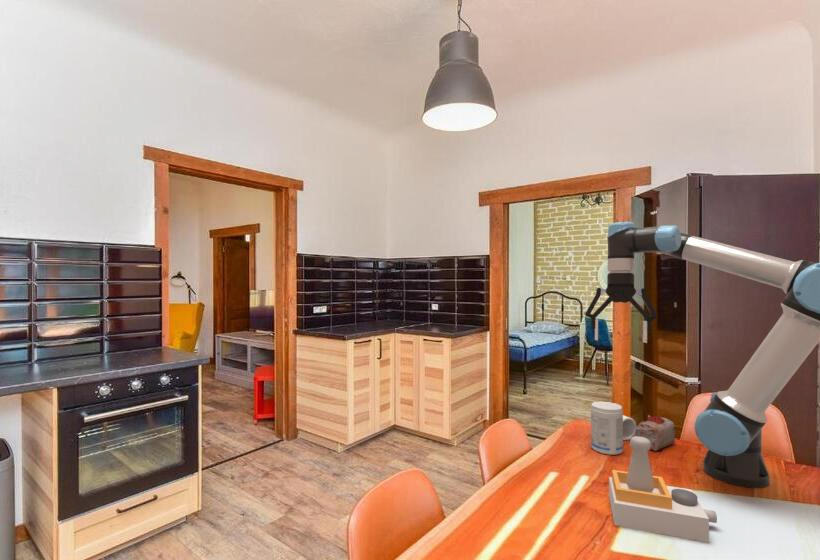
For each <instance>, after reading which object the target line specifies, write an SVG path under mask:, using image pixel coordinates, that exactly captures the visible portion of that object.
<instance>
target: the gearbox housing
mask: <svg viewBox="0 0 820 560" xmlns="http://www.w3.org/2000/svg"><path fill="white" fill-rule="evenodd" d="M627 475H628V471H622V470H616V469H611V476H609V477H608V499H609V502H610V503H609V504H610V509H611V514H612V518H613V523H614V526H617V527H622V528H626V529H627V528H628V529H632V530H638V531H643V532H648V533H655V534H661V535H665V536H670V537H674V538H675V537H676V538H680V539H681V538H682V539H685V540H686V539H687V540H693V541H698V542H703V543H708V544H709V543H710V523H713V524H717V523H718V518H717V512H716V511H715V510H710V509H704V508H703V506H702V505H701V503H700V502H699V500H698V496H697V495H696V493H694V491H693V490H692V489H690V488H685V487H677V486H673V485H671V486H670V485H666V482H665V480H664V478H663V477H662V476H657V475H652V477H653V482H654V490H653V491H652V493H650V492H643V491H637V490H631V489H629V488H628V486H627V482H626V480H627Z"/></svg>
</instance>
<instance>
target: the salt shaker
mask: <svg viewBox="0 0 820 560" xmlns="http://www.w3.org/2000/svg"><path fill="white" fill-rule="evenodd" d="M629 446H630V447H631V448H632V450H631V451H632V452H631V455H630V461H629V465H628V471H627V472H628V475H627V480H626V482H627V486H628V488H629V489H631V490H637V491H643V492H650V493H652V491H653V490H654V482H653V477H652V476H653V473H652V468H651V467H652V466H651V463H650V457H649V451H650V447H651V443H650V441H649V440H648V439H647V438H644V437H639V436H635V435H634V437H632V438H631V439H630V440H629Z"/></svg>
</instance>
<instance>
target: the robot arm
mask: <svg viewBox="0 0 820 560" xmlns="http://www.w3.org/2000/svg"><path fill="white" fill-rule="evenodd" d="M635 225H636V224H635V223H634V222H631V221H617V222H612V223H610V224H609V226H608V228H607V229H608V230H607V272H609V273H607V278H606V279H607V280H606V281H607V283H606V285H607V286H606V288H600V287H596V289H595V295H594V297H593V299H592V301H591V303H590V304H589V306H588V308H587V310H586V312H585V313H584V314H585V317H587V318H589V319H590V328H591V329H592V330H594V341H598V340H599V319H598V316H599V315H600V314H601V313H602V312H603V311H604V310H605V309H606V307H608V306H609V305H610V304H611V303H612V302H613V303H624V304H625V303H630V304H631V305H632V306H633V308H635V309H636V310H637V312H638V313H639V314H640V315H641V316H642V317H643V318H644V320H642V343H644V344H647V343H648V332H651V331H652V321H653V320H654V321H655V320H658V318H659V315H658V314H657V312H656V310H655V308H654V307H653V305H652V302H651V301H650V300H649V298H648V296H647V289H646V288H645V287H644V288H642V287H641V288H635V273H633V272H635V254H637V253H639V254H640V253H658V254H664V255H667V256H669V257H674V258H677V259H682V260H685V261H687V262H692V263H694V264H698V265H702V266H705V267H709V268H711V269H715V270H719V271H723V272H725V273H727V274H732V275H735V276H739V277H741V278H745V279H749V280H752V281H755V282H758V283H761V284H766V285H769V286H772V287H776V288H779V289H781V290H782V291H783V292H784V294H786V296H785V297H784V299H783V300H782V301H781V303H780V306H781V308H782V314H781V316H780V317H779V318H778V320H777V321H776V323H775V324H774V326H773V327H772V329H771V330H770V331H769V332H768V334H767V335H766V337H765V338H764V339H763V341H762V342H761V344H760V345H759V346H758V348H757V349H756V350H755V352H754V353H753V354H752V356H751V357H750V359H749V360H748V362H747V363H746V364H745V365H744V367H743V369H742V370H741V371H740V373H739V374H738V375H737V377H736V378H735V380H734V381H733V382H732V384H731V385H730V386H729V388H728V389H727V390H721V391H716V392H712V393H711V396H710V400H709V401H710V402H709V403H708V405H707V406H706V408H705V409H704V410H703V411H701V412H700V413H699V414H698V416H697V417H696V418H695V422H694V431H695V434H696V437H697V439H698V440H699V442H700V443H701V445H703V446H704V447H705V448H706V449H707V451H706V453H705V456H704V458H703V462H702V469H703V470H702V471H704V473H706V474H707V475H709V476H711V478H714V479H717V480H719V481H721V482H724V483H728V484H731V485H735V486H740V487H746V488H765V486H766V487H768V486H769V485H770V474H769V470H768V467H767V465H766V461H765V460H764V457H763V454H762V447H763V446H762V437H763V436H762V434H763V433H762V432H763V431H762V429H763V427H764V426H765V425H766V424H767V422H768V417H767V416H766V412H767V410H768V408H769V407H770V406H771V404H772V403H773V402H774V401H775V400H776V398H777V396H778V395H779V394H780V393H781V391H782V390H783V388H785V386H786V385H787V384H788V382H789V381H790V380H791V378H792V377H793V375H795V373H796V372H797V371H798V369H799V368H800V367H801V366H802V364H803V363H804V362H805V360H806V359H807V358H808V356H809V355H810V354H811V352H812V351H813V350H814V348H815V347H816V346H817V345H818V343H819V342H820V262H814V261H810V260H809V261H808V260H804V259H801V260H798V261H793V260H788V259H784V258H780V257H778V256H777V257H776V256H773V255H769V254H765V253H761V252H758V251H754V250H749V249H746V248H742V247H737V246H734V245H730V244H726V243H722V242H719V241H715V240H710V239H706V238H702V237H699V236H694V235H691V234H687V233H683V232H681V230H680V228H679V226H677V225H660V226H659V225H658V226H649V227H648V226H647V227H636V226H635ZM605 293H606V295H607V296H608V297H607V299H606V300H604V301H603V303H601V305H599V307H597V308H596V310H595V311H594V312H593V313H592V311H593V309H594V308H595V306H596V305H597V303H598V301H599V299H600V297H601V296H603V295H604V294H605ZM636 294H637V295H638V296H640V297H641V299H642V301H643V303H644V304H645V306H646V309H647V310H648V312H649V313H650V315H649V314H648V313H647V312H646V311H645V309H644V308H643V307H641V305H640V304H639V303H638V302H637V301H636V300H635V299H634V296H635V295H636ZM767 485H768V486H767Z"/></svg>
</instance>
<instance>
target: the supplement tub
mask: <svg viewBox="0 0 820 560" xmlns="http://www.w3.org/2000/svg"><path fill="white" fill-rule="evenodd" d="M623 415H624V412H623V406H622V405H620V404H619V403H614V402H610V401H593V402H592V403H591V407H590V446H591V448H592V450H593V451H595V452H598V453H600V454H604V455H610V456H611V455H612V456H614V455H615V456H616V455H620V454H622V453H623V451H624V440H623Z"/></svg>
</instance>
